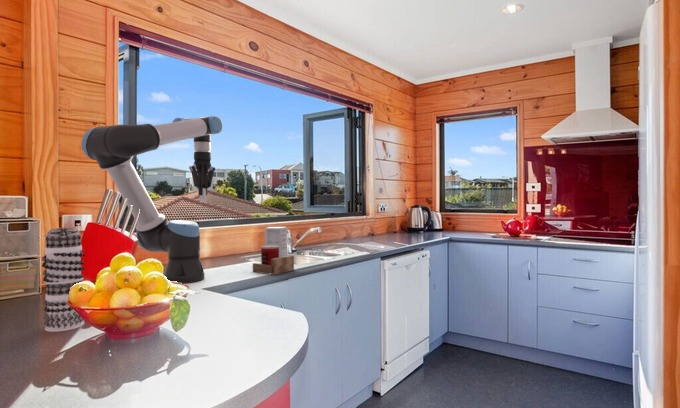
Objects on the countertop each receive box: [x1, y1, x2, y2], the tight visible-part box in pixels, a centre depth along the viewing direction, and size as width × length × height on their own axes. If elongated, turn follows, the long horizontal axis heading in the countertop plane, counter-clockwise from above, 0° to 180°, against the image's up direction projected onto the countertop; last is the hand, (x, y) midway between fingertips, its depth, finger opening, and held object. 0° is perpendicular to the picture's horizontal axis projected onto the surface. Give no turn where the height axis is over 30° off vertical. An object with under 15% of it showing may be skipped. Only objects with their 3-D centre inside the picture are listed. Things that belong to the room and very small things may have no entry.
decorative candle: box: [41, 227, 86, 333], centre depth 104 cm, size 9×9×25 cm
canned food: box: [260, 245, 279, 265], centre depth 180 cm, size 8×8×11 cm
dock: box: [252, 254, 295, 275], centre depth 180 cm, size 12×13×6 cm
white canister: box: [264, 226, 288, 257], centre depth 215 cm, size 10×9×17 cm
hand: (202, 202), depth 190 cm, fingers closed
